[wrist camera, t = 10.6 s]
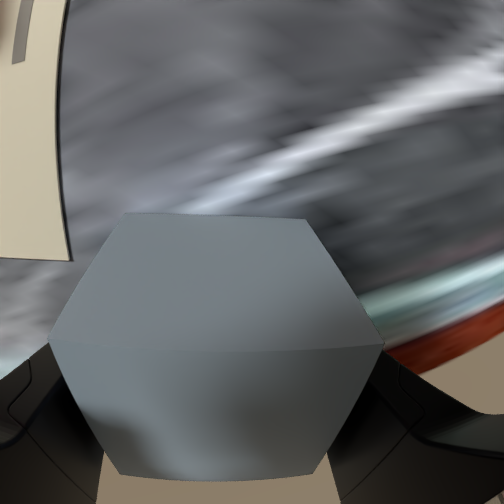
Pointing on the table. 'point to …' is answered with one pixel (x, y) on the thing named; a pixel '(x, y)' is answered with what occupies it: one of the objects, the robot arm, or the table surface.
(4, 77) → the letter
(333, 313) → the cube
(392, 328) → the table surface
